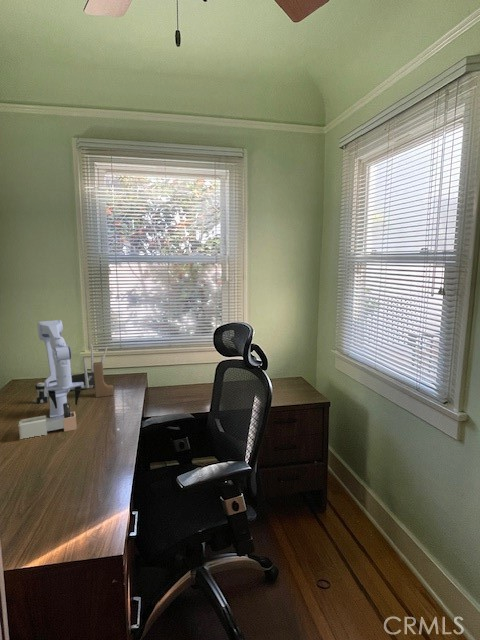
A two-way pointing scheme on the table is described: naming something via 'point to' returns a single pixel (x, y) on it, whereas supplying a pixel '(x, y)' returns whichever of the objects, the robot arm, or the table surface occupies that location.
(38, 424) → the white channel beam
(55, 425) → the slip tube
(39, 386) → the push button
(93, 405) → the table surface
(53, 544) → the table surface
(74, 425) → the socket
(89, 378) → the wireless router
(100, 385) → the wooden block
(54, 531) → the table surface
